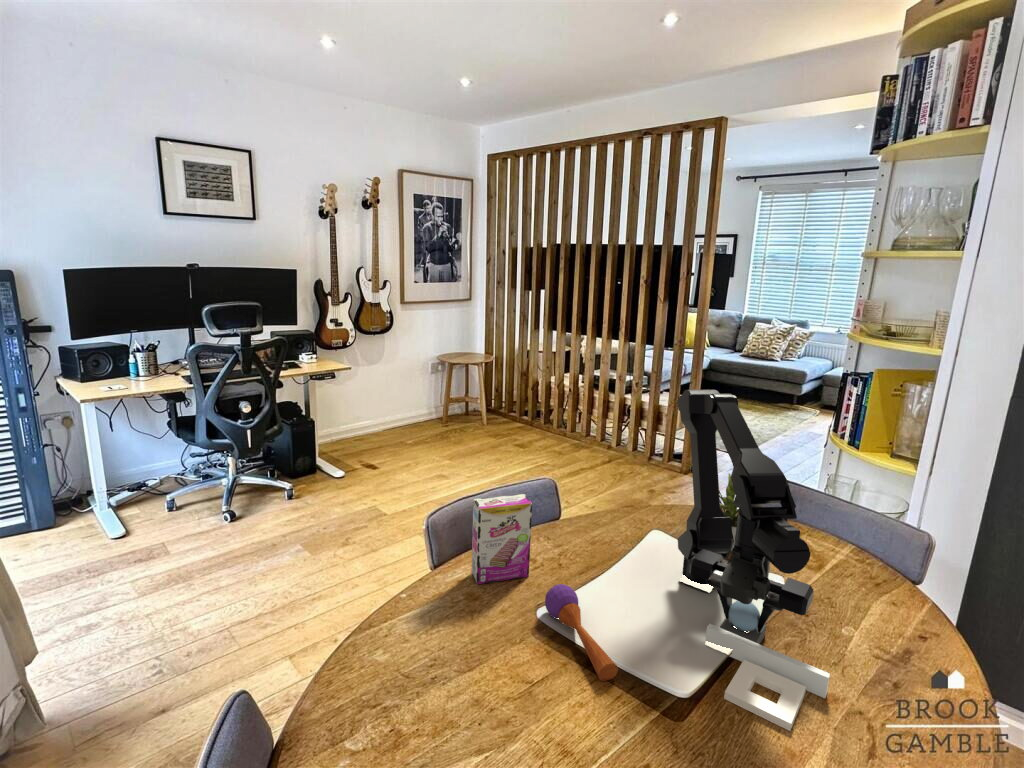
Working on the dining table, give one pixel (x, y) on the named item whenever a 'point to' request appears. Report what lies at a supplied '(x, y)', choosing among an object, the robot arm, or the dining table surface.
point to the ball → (744, 616)
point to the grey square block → (753, 635)
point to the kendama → (578, 628)
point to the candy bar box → (501, 538)
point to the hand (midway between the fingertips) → (743, 624)
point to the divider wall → (771, 660)
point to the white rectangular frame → (760, 706)
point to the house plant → (730, 506)
